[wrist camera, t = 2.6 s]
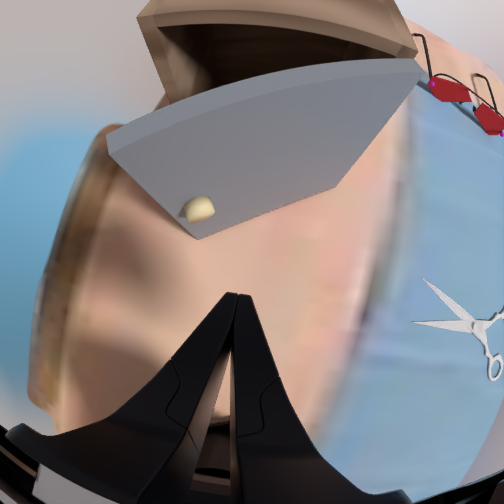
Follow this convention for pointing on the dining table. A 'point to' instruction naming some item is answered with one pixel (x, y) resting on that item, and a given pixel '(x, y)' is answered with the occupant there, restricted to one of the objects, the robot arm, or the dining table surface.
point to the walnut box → (264, 38)
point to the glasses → (465, 98)
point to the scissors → (468, 327)
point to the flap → (261, 139)
